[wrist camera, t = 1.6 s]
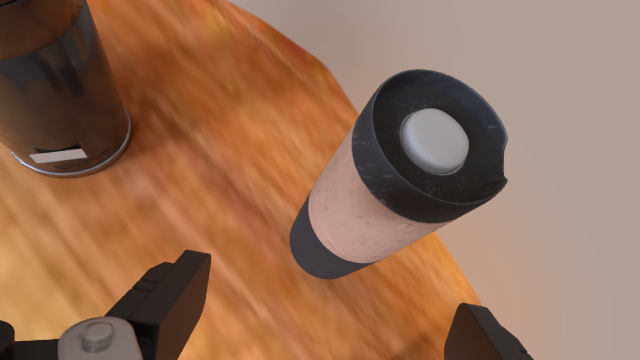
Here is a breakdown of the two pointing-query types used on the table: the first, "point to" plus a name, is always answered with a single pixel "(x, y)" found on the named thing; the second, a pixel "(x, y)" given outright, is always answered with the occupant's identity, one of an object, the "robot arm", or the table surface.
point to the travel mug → (401, 173)
